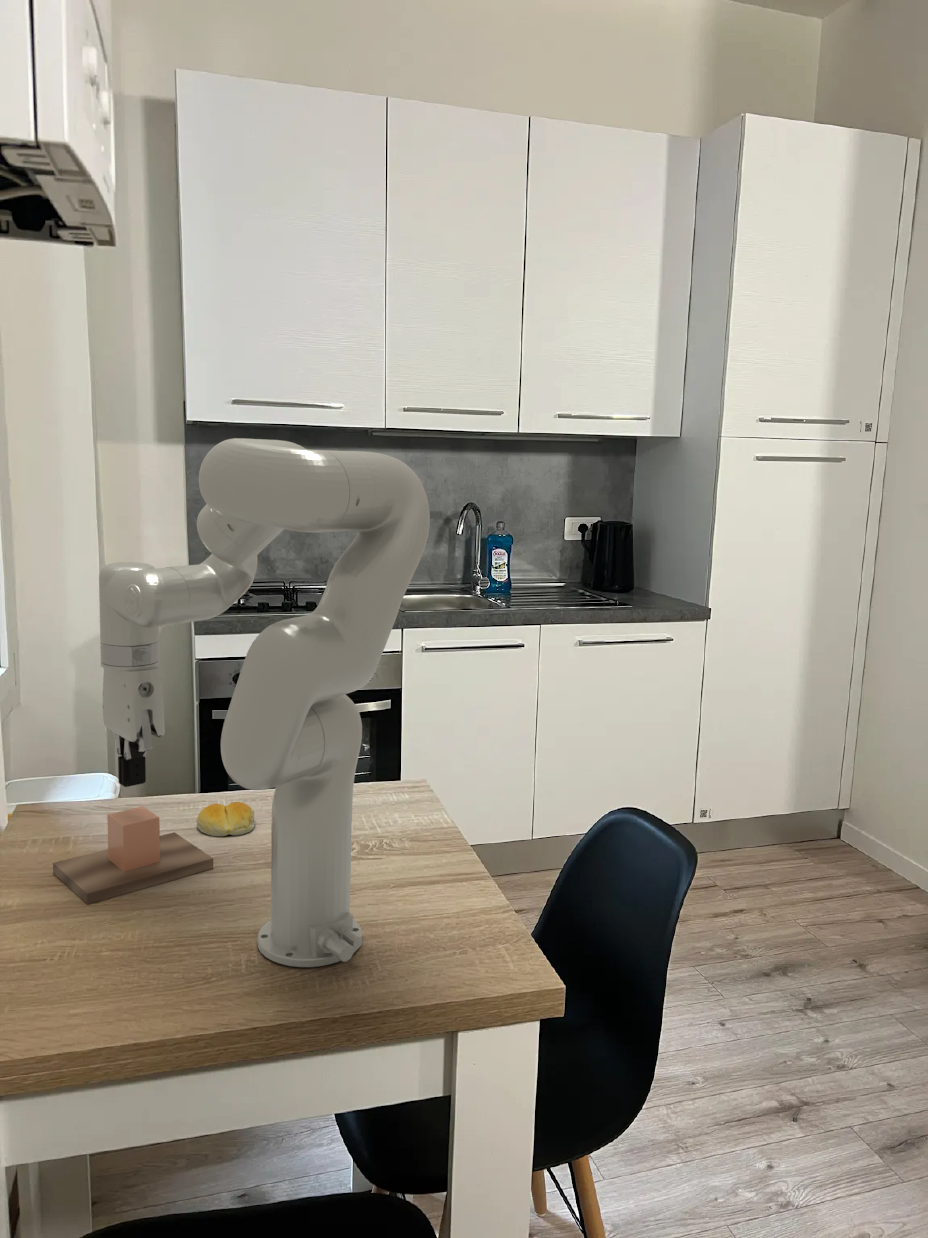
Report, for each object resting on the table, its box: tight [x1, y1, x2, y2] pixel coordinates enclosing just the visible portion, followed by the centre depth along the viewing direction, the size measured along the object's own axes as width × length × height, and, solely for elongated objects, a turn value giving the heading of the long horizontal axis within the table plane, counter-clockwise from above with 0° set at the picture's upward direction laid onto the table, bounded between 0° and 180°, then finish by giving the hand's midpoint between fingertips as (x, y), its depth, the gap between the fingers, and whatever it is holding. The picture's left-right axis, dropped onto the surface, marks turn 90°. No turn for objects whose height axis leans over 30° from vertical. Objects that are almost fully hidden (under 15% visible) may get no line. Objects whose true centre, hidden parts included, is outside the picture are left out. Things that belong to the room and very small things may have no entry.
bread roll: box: [196, 801, 256, 837], centre depth 150 cm, size 8×9×4 cm
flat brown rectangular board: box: [52, 832, 214, 905], centre depth 133 cm, size 12×18×7 cm, turn 133°
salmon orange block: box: [106, 806, 161, 871], centre depth 133 cm, size 5×5×7 cm
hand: (132, 783), depth 132 cm, fingers closed
